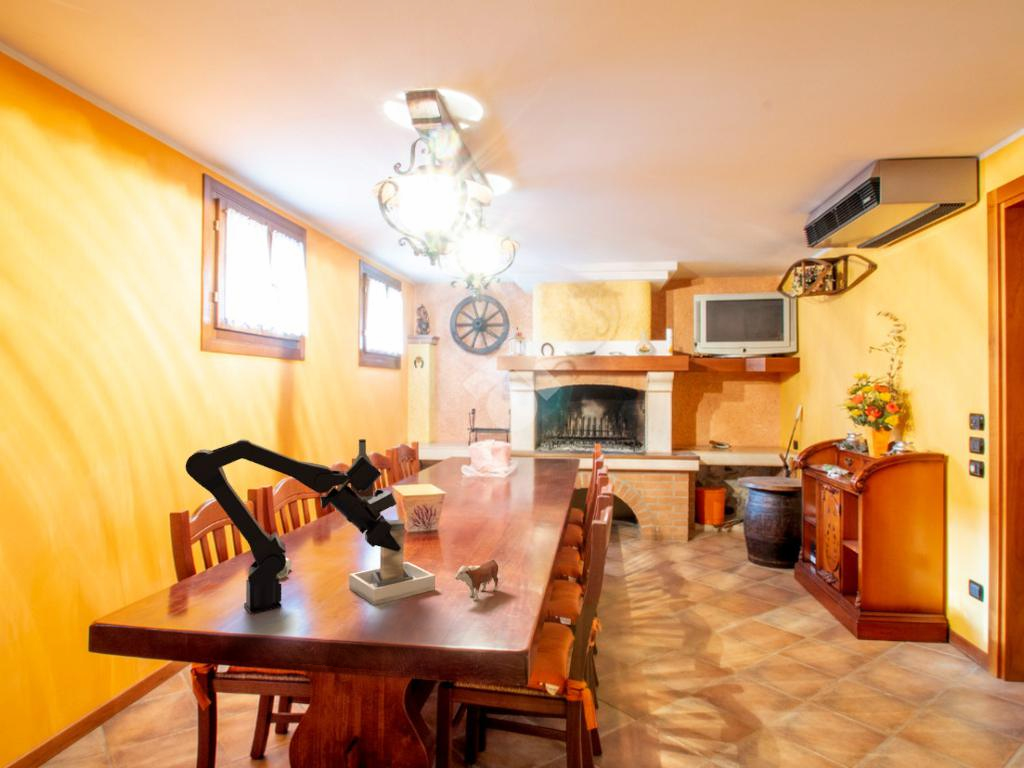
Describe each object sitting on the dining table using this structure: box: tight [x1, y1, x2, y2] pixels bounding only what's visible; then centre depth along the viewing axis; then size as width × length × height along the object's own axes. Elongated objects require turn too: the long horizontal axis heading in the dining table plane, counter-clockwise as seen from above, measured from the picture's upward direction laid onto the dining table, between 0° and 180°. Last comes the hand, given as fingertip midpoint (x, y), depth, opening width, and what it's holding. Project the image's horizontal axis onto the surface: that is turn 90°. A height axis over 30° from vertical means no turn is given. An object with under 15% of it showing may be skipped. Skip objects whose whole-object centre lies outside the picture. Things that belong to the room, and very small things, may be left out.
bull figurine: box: [454, 559, 499, 602], centre depth 135 cm, size 4×13×8 cm, turn 140°
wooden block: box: [379, 519, 405, 581], centre depth 140 cm, size 5×5×14 cm
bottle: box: [349, 438, 375, 501], centre depth 216 cm, size 9×9×30 cm
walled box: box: [348, 561, 436, 606], centre depth 140 cm, size 16×14×4 cm
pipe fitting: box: [277, 557, 293, 580], centre depth 152 cm, size 8×4×7 cm
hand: (397, 547), depth 140 cm, fingers closed on wooden block, 5 cm apart
